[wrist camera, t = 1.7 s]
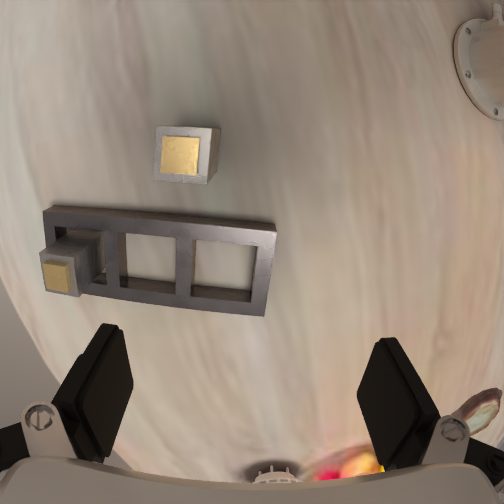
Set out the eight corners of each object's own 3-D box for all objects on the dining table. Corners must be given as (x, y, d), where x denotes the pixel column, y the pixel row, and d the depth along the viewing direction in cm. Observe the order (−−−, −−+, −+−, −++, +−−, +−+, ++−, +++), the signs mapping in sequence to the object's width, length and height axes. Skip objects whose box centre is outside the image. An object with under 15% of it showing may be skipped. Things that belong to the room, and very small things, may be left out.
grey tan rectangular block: (73, 228, 30) (35, 255, 23) (104, 231, 31) (69, 260, 24) (76, 261, 32) (42, 293, 25) (106, 265, 32) (76, 300, 25)
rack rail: (62, 278, 33) (52, 287, 31) (54, 205, 29) (42, 211, 27) (263, 304, 34) (264, 316, 32) (275, 224, 30) (276, 232, 28)
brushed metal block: (178, 126, 27) (153, 126, 20) (220, 128, 27) (210, 128, 20) (174, 168, 28) (150, 181, 21) (216, 171, 29) (205, 185, 22)
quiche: (455, 445, 51) (461, 457, 48) (411, 436, 47) (417, 451, 44) (519, 384, 45) (528, 395, 41) (490, 362, 41) (501, 376, 37)
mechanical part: (314, 462, 47) (321, 515, 36) (285, 486, 52) (288, 533, 41) (257, 454, 46) (258, 512, 35) (233, 479, 50) (232, 529, 39)
